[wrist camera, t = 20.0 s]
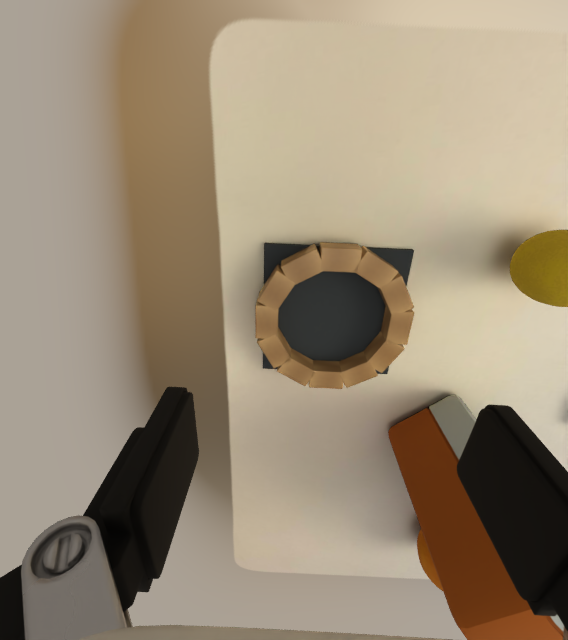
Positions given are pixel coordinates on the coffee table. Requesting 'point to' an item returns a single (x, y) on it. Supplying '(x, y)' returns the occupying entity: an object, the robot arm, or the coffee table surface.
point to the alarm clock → (461, 529)
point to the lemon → (543, 268)
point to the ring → (353, 367)
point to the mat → (332, 307)
